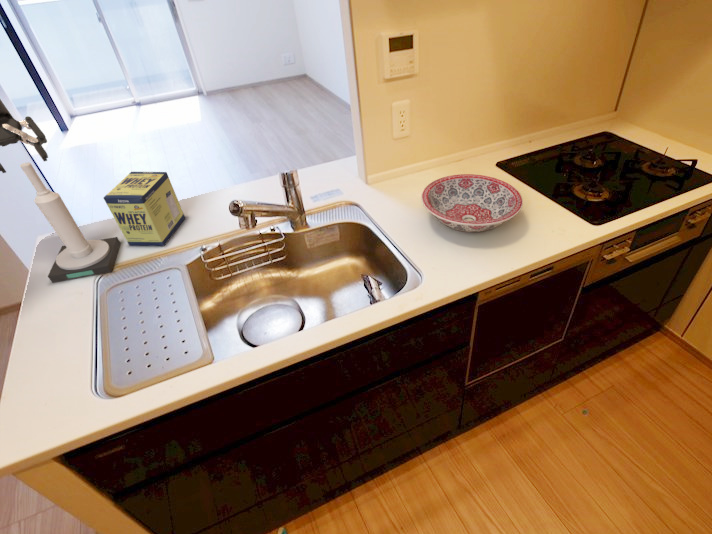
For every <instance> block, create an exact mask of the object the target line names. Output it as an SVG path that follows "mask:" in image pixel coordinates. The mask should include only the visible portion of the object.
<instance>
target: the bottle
mask: <svg viewBox="0 0 712 534" xmlns="http://www.w3.org/2000/svg"><path fill="white" fill-rule="evenodd" d="M19 167H20V168H21V169H22V171H23V173H24V174H25V175H26V177H27V179H28V180H29V182H30V183H31V185H32V186H33V188H34V189H35V191H36V196H35V198H34V199H33V200H34V201H33V202H34V203H35V205H36V206H37V208H38V209H39V210H40V212H41V213H42V215H43V216H44V218H45V219H46V221H47V222H48V224H49V225H50V226H51V227H52V229H53V231H54V232H55V233H56V234H57V236H58V238H59V239H60V240H61V242H62V243H63V244H64V246H66V247H67V249H68V252H69V254H70V255H71V256H72V257H74V258H82V257H85V256H87V255H89V254H90V253H91V252H92V248H91V246H90V244H89V243H88V242H87V240H86V238H85V236H84V235H83V232H82V231H81V229H80V228H79V226H78V224H77V223H76V221H75V219H74V217H73V216H72V213H71V212H70V211H69V209H68V207H67V206H66V204H65V202H64V200H63V199H62V197H61V195H60V193H58V192H54V191H51V190H50V189H49V188H47V187H46V186H45V184H44V182H43V181H42V180H41V178H40V176H39V175H38V173H37V171H36V169H35V168H34V166H33V164H32V163H31V162H24V163H21V164H20V165H19Z"/></svg>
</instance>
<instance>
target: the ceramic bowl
mask: <svg viewBox="0 0 712 534" xmlns="http://www.w3.org/2000/svg"><path fill="white" fill-rule="evenodd" d="M421 203H422V205H423V207H424V208H425V209H426V211H428V212H429V213H430V214H431V215H433V216H434V217H435V218H436V219H437V220H438V221H439V222H440V223H442V224H443V225H445V226H446V227H448V228H450V229H453V230H456V231H459V232H466V233H477V232H478V233H481V232H486V231H490V230H493V229H494V228H497V227H500V226H501V225H503V224H504V223H505V222H507V221H509V220H511V219H513V218H514V217H516V216H517V215H518V214H519V213H520V212H521V210H522V208H523V203H524V202H523V197H522V195H521V193H520V192H519V190H517V188H515V186H513V185H511V184H510V183H508V182H506V181H504V180H501V179H498V178H495V177H492V176H488V175H482V174H471V173H468V174H467V173H462V174H461V173H460V174H452V175H448V176H443V177H440V178H438V179H435V180H433V181H432V182H430V183H429V184H428V185H426V186H425V188H424V189H423V191H422V192H421ZM466 219H473V220H466Z"/></svg>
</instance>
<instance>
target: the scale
mask: <svg viewBox="0 0 712 534" xmlns="http://www.w3.org/2000/svg"><path fill="white" fill-rule="evenodd" d="M86 241H87V242H88V243H89V244H90V246H91V248H92V252H91V253H90V254H89V255H87V256H85V257H82V258H74V257H72V256H71V255H70V254H69V252H68V249H67V247H66V246H65V245H61V247H60V250H59V251H58V254H57V256H56V258H55V260H54V262H53V264H52V266H51V268H50V270H49V273H48V275H47V277H48V279H49V281H50V282H51V283H52V284H53V283H59V282H66V281H69V280H75V279H76V280H77V279H80V278H87V277H93V276H97V275H103V274H109V273H112V272H113V269H114V267H115V263H116V259H117V256H118V253H119V249H120V246H121V242H120V239H119V238H118V236H115V237H108V238H103V239H88V240H86Z"/></svg>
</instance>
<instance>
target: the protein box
mask: <svg viewBox="0 0 712 534" xmlns="http://www.w3.org/2000/svg"><path fill="white" fill-rule="evenodd" d="M103 200H104V202H105V203H106V205H107V207H108V209H109V211H110V213H111V215H112V216H113V218H114V221H115V222H116V224H117V225H118V228H119V229H120V231H121V233H122V235H123V237H124V238H125V240H126V242H127V244H128V246H130V247H131V246H133V247H134V246H136V247H137V246H139V247H140V246H141V247H142V246H143V247H165V246H166V244H167V243H168V242H169V240H170V239H171V237H172V236H173V235H174V234H175V232H176V231H177V229H179V227H180V225H181V224H183V222H184V220H185V219H186V216H185V214H184V211H183V209H182V207H181V204H180V201H179V199H178V197H177V194H176V192H175V190H174V187H173V185H172V182H171V180H170V177H169V174H168V173H167V171H131V172H129V173H128V175H126V176H125V177H124V178H123V179H122V180H121V181H120V182H119V183H118V184H117V185H115V187H113V188H112V189H111V190H110V191H109V192H108V193H107V194H106V195H104V196H103Z"/></svg>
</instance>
